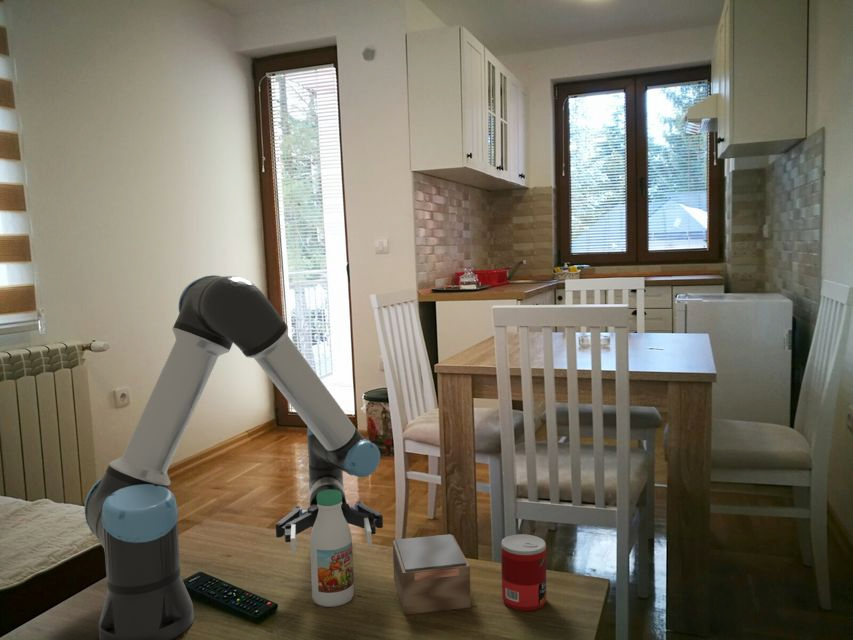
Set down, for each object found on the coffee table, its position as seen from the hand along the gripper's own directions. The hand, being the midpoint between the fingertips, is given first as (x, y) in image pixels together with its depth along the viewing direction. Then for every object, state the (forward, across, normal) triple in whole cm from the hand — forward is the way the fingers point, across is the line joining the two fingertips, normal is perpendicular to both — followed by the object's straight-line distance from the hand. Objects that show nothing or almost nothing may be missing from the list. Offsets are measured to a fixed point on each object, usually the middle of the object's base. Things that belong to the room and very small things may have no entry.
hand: (331, 542), depth 120 cm
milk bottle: (-3, 0, -12) cm, 13 cm away
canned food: (+6, -34, -12) cm, 37 cm away
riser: (-1, -18, -12) cm, 22 cm away
